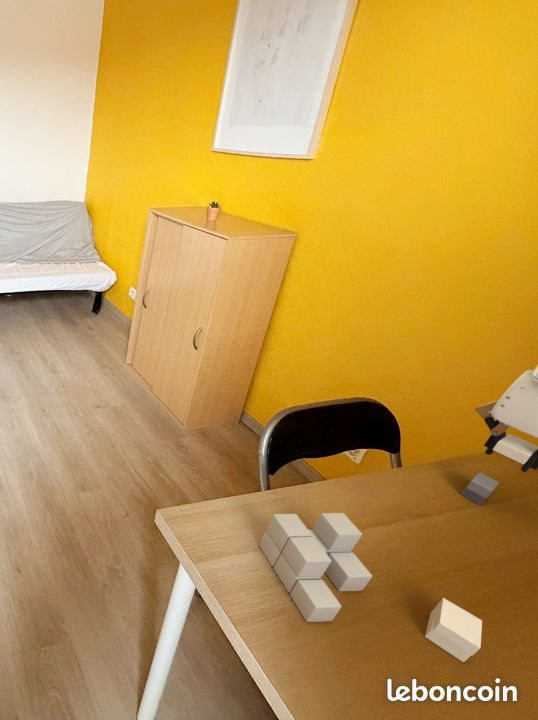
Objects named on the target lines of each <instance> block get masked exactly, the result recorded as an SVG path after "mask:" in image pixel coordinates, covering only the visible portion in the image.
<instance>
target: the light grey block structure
mask: <svg viewBox="0 0 538 720" xmlns="http://www.w3.org/2000/svg"><path fill="white" fill-rule="evenodd" d="M312 528H313V529H308V527H307V526H306V525H305V524H304V522H303V521H302V520H301V518H300V517H299V516H298V514H297V513H274V514H272V517H271V518H270V521H269V523H268V525H267V527H266V530H265V531H264V533H263V535H262V537H261V540H260V541H259V544H258V546H259V548H260V550H261V551H262V554H264V556H265V558H266V559H267V561H268V562H269V564H270V566H271V567H273V568H272V569H273V571H274V572H275V574H276V575H277V577H278V578H279V580H280V582H281V583H282V585H283V587H284V588H285V590H286V592H287V593H289V596H290V598H291V599H292V601H293V603H294V604H295V606H296V607H297V609H298V611H299V612H300V614H301V616H302V617H303V619H304V620H305V622H307V623H318V622H319V623H320V622H322V623H323V622H333V620H334V618H335V617H336V616H337V614H338V613H339V611H340V610H341V608H342V605H341V603H340V601H339V600H338V599H337V598H336V596H335V595H334V593H333V592H332V591H331V589H330V587H329V586H328V585H327V583H326V582H325V581H324V580H323V579H322V577H323V576H324V574H326V576H327V577H328V579H329V580H330V582H331V583H332V585H333V586H334V587H335V588H336V590H337V591H338V592H362V591H363V590H364V589H365V588H366V586H367V585H368V583H369V582H370V581H371V579H372V578H373V575H372V573H371V572H370V571H369V570H368V568H367V567H366V566H365V565H364V563H363V562H362V561H361V560H360V558H359V557H357V555H356V554H355V553H354V552H353V551H352V550H353V549H354V548H355V546H356V545H357V543H358V542H359V540H360V538H361V537H362V536H363V533H362V532H361V531H360V529H358V527H357V526H356V525H355V524H354V523H353V522H352V520H351V519H350V518H349V517H348V516H347V515H346V514H345V513H344V512H321V513H320V515H319V517H318V519H317V521H316V522H315V524H314V525H313V527H312Z"/></svg>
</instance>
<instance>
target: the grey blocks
mask: <svg viewBox="0 0 538 720" xmlns="http://www.w3.org/2000/svg"><path fill="white" fill-rule="evenodd" d="M499 484H500V481H497V480H495V479H493V478H491V477H490V476H488V475H485V474H484V473H482V472H478V473H477V474H476V475H475V476H474V477H473V478H472V479H471V480H470V482H469V483H468V484H467V485H466V486H465V487H464V489H463V490H462V491H461V492H460V495H461V496H462V497H464V498H466V499H468V500H469V501H471V502H473V503H475V504H476V505H478V506H481V504H483V502H485V501H486V500H488V498H489V497H490V496H491V495H492V494H493V493H494V492H495V489H496V487H497V486H498V485H499Z"/></svg>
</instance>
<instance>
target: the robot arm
mask: <svg viewBox="0 0 538 720" xmlns="http://www.w3.org/2000/svg"><path fill="white" fill-rule="evenodd" d="M474 410H475V412H476V413H477V414H478V415H479V416H480V418H482V419H483V420H484V422H485V424H486V426H487V427H488V429H489V434H490V436H489V437H488V439H487V440H486V441H485V443H484V444H483V446H484V447H485V448H487V449H485V451H484V454H486V455H492V454H493V453H495V452H496V451H494V450H493V448H494V447H495V445H496V444H497V442H498V441H500V440H501V439H503V438H504V437H505V436H507V435H508V434H507V432H506V431H507V430H508V429H509V428H513V429H515V430H517V431H520V432H522V433H524V434H527V435H528V436H530V437H531V436H532V437H534V438H535V439H538V363H537V364H536V365H535V366H534V368H533V369H527V370H525V371H524V372H523V373H521V375H520V376H518V377H517V378H516V379H515V380H514V382H513V383H512V384H510V386H509V387H508V388H507V389H506V391H504V392H503V394H502V395H501V397H499V399H497V400H495V401H491V402H488V403H485V404H481V405H478V406H477V407H475V408H474ZM520 470H521V472H523V473H525V474H526V473H527V472H528V471H529V470H534V471H537V470H538V449H537V450H536V451H535V452H534V453H533V454H532V455H531V457H530V458H529V459H528V460H527V462H526V463H525V464H522V466H521V467H520Z"/></svg>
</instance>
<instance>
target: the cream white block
mask: <svg viewBox="0 0 538 720" xmlns="http://www.w3.org/2000/svg"><path fill="white" fill-rule="evenodd" d="M506 435H507V436H505V437H504V438H503V439H501V440H500V441H498V442H497V444H496V445H495V447H494V448H493V450H494V451H495V452H496V453H498V454H499V455H503V456H505V457H507V458H509V459H510V460H513V461H515V462H517V463H519V464H522V465H524V464H525V463H526V462H527V460H528V459H529V458H530V457H531V455H532V454H533V453H534V452H535V451H536V450H537V449H538V445H536V444H533V443H531V442H529V441H527V440H525V439H522V438H520V437H518V436H515V435H514V434H511V433H508V434H506Z"/></svg>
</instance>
